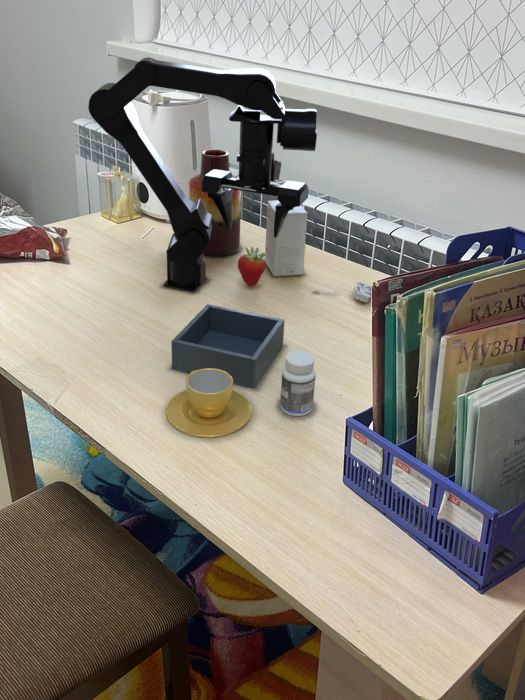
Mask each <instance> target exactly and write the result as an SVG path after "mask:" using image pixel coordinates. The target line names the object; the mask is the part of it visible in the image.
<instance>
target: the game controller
mask: <svg viewBox="0 0 525 700" xmlns="http://www.w3.org/2000/svg"><path fill="white" fill-rule="evenodd" d="M371 288H372V285H371V284H370V283H366V282H361V281H359V282H356V283H355V285H354V287H353V290H352V296H353V297H354V298H355V299H356V300H358V301H361V302H364V303H369V302H370V300H372V299H371V290H372V289H371ZM338 290H341V288H339V289H337V290H335V291H334V293H336V291H338ZM343 290H344V291H346V292H348V293H350V291H349V290H347V289H345V288H343ZM316 291H318V289H317V290H315V292H316ZM323 291H324V292H326V290H325V289H323ZM328 293H333V291H328Z"/></svg>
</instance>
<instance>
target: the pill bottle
mask: <svg viewBox="0 0 525 700" xmlns="http://www.w3.org/2000/svg"><path fill="white" fill-rule="evenodd" d="M316 375H317V372H316V369H315V356H313V354H311V353H309V352H307V351H304V350H293V351H290V352H288V353H287V354H286V356H285V360H284V366H283V367H282V371H281V383H280V396H279V397H280V399H279V407H280V409H281V411H282V412H283V413H285V414H286V415H288V416H292V417H293V416H294V417H303V416H307V415H308V414H310V412H312V410H313V406H314V395H315V387H316V386H315V385H316V377H317V376H316Z"/></svg>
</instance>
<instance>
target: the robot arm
mask: <svg viewBox="0 0 525 700" xmlns="http://www.w3.org/2000/svg"><path fill="white" fill-rule="evenodd" d="M149 87H158V88H163V89H168V90H174V91H175V90H176V91H182V92H189V93H193V94H194V93H196V94H201V95H207V96H215V97H219V98H221V99H224V100H227V101H229V102H230V103H233V104H234V105H237V107H236V108H235V109H234V110H233V111H232V112H230V114H229V118H228V120H229V121H230V122H235V123H236V122H237V123H239V148H238V149H239V153H238V154H237V155H236V162H237V163H238V177H236V178H237V179H235V178H232V176H234V175H233V173H232V171H230V172H229V171H222V170H216V169H214V170H212V171H210V172H209V173H207V174H206V175H204V176H203V177H202V179H201V191H202V192H207V193H208V194H207V196H208V197H210V198H212V199H213V201H214V203H215V204H216V206H217V208H218V210H219V212H220V214H221V216H222V218H223V220H224V223H225V225H226V227H227V229H228V230H230V229H231V226H232V203H231V198H232V193H233V189H235V190H241V192H248V193H255V194H260V195H267V196H273V197H277V200H278V201H279V203H278V204H277V205H276V208H275V221H274V238H277V237H278V235H279V232H280V230H281V227H282V225H283V222H284V220H285V218H286V216H287V214H288V212H289V210H293V209H294V208H295V207H299V206H300V205H301V206H302V205H303V204H304V203H305V202H306V201H307V200H308V198H309V191H310V190H309V186H308V185H307V183H305V182H301V181H295V180H294V181H293V180H286V181H285V182H284V183H282V185H280V184H274V182H275V181H276V180H280V175H281V171H282V161H279V160H276V159H275V151H273V145H274V144H273V143H274V129H275V127H274V125H277V131H276V144H280V145H279V146H280V147H282V150H284V151H285V150H286V151H302V152H303V151H305V152H306V151H307V152H316V148H317V139H318V137H317V136H318V132H317V115H318V112H317V109H316V108H306V109H299V108H298V109H295V108H286V107H285V104H284V101H283V100H282V99H281V98H280V96H279V95H278V93H277V92H276V81H275V78H274V76H273V74H271V72H270V71H268V70H267V69H265V68H261V67H255V68H254V67H252V68H250V67H249V68H236V69H235V68H233V69H223V70H222V69H215V68H209V67H203V66H198V65H197V66H196V65H190V64H184V63H178V62H172V61H165V60H158V59H154V58H153V57H151V56H150V57H149V56H146V57H143V58H141V59H140V60H139V61H138V62H137V63H136V64H135V65H134V67H133V68H132V69H131V70H129V71H128V72H127V73H126V74H125V75H124V76H122V78H120V79H119V80H118V81H117V82H116V83H115V82H107V83H105V84H103V85H101V87H99V88H98V89H97V90H95V91H94V92H93V93H92V94H91V95H90V97H89V100H88V106H87V109H88V113H89V114H90V116H91V118H92V120H94V121H95V122H96V123H97V125H99V127H100V128H101V129H102V131H104V132H105V133H106V134H108V135H109V136H110V137H112V139H114V140H115V141H117V142H118V143H120V145H121V146H122V148H123V149H124V150H125V153H127V155H128V157H129V158H130V159H131V161H132V162H133V164H134V165H135V167H136V168H137V170H138V171H139V173H140V174H141V176H142V177H143V178H144V180H145V181H146V182H147V184H148V185H149V188H150V189H151V191H152V192H153V193H154V194H155V195H156V198H157V199H158V200H159V202H160V203H161V205H162V206H163V208H164V209H165V210H166V213H167V215H168V218H169V223H170V226H171V228H172V231H173V233H172V235H171V238H170V241H169V243H168V246H167V248H166V252H165V253H166V278H167V279H166V281H164V282H163V287H166V288H169V289H174V290H180V291H184V292H185V291H186V292H190V293H194V292H197V290H198V289H199V288H200V287H201V286H202V285H204V283H206V281H208V276H207V266H206V265H207V263H206V260H204V256H203V253H202V252H200V251H203V250H204V249H205V248H206V247H207V245H208V243H209V239H210V235H211V231H212V222H211V217H212V215H211V214H210V213H208V212H207V210H206V209H205V207H204V205H203V203H202V201H201V199H199V200H197V201H196V202H195V203H194V202H193V201H191V200H190V199H189V197H188V196H186V194H185V193H184V190H182V188H181V186H180V185H179V183H178V182H177V181H176V179H175V177H174V176H173V175H172V173H171V172H170V169H169V168H168V167H167V165H166V164H165V162H164V160H163V159H162V158H161V156H160V155H159V153H158V152H157V150H156V149H155V146H154V145H153V144H152V142H151V141H150V140H149V138H148V136H147V135H146V133H145V132H144V130H143V128H142V126H141V123H140V120H139V116H138V114H137V113H138V112H137V110H136V108H135V106H134V103H133V100H134V99H136V98H137V97H138V96H139V95H140V94H142V93H143V92H144V91H145V90H146V89H148V88H149ZM245 108H246V109H245ZM262 113H264V114H265V115H264V114H262ZM271 182H273V183H271Z"/></svg>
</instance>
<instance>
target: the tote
mask: <svg viewBox="0 0 525 700" xmlns="http://www.w3.org/2000/svg"><path fill="white" fill-rule="evenodd" d="M284 334H285V319H283V318H279V317H274V316H268V315H264V314H258V313H255V312H248V311H244V310H239V309H234V308H229V307H225V306H220V305H215V304H209V303H207V304H206V305H205V306H204V307H203V308H202V309H201V310H200V311H199V312H198V313H197V314H196V315H195V316H194V317H193V318H192V319H191V320H190V321H189V322H188V323H187V324H186V325H185V326H184V327H183V328H182V329H181V331H179V333H177V335H176V336H175V337H174V338H173V339H172V340H171V342H170V344H171V346H170V348H171V369H172V370H173V371H179V372H184V373H186V374H187V373H188V374H190V373H191V371H194V370H200V369H206V368H213V369H219V370H223V371H225V372H227V373H228V374H230V375H231V377H232V378H233V385H238V386H243V387H246V388H251V389H256V387H257V386H258V384H259V382H260V381H261V379H262V378H263V376H264V375H265V374H266V372H267V371H268V369H269V368H270V366H271V365H272V363H273V362H274V360H275V359H276V357H277V356H278V354H279V353H280V351H281V350H282V348H283V346H284V336H285V335H284Z"/></svg>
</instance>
